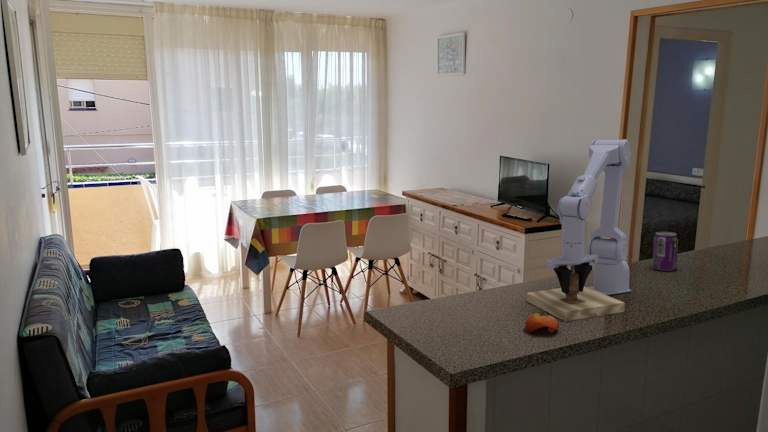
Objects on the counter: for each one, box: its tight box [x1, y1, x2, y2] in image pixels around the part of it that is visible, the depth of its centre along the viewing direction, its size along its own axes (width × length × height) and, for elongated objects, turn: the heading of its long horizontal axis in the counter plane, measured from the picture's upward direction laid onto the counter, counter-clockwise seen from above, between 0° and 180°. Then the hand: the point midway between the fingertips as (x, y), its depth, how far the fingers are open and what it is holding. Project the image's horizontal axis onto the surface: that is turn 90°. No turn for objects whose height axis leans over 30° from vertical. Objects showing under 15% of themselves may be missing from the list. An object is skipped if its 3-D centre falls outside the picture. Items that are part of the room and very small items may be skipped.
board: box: [526, 285, 626, 322], centre depth 156 cm, size 18×18×2 cm
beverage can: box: [652, 231, 679, 272], centre depth 188 cm, size 7×7×12 cm
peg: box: [565, 272, 579, 301], centre depth 153 cm, size 4×4×7 cm
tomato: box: [524, 309, 560, 335], centre depth 139 cm, size 8×7×7 cm
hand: (572, 291), depth 153 cm, fingers closed on peg, 4 cm apart
